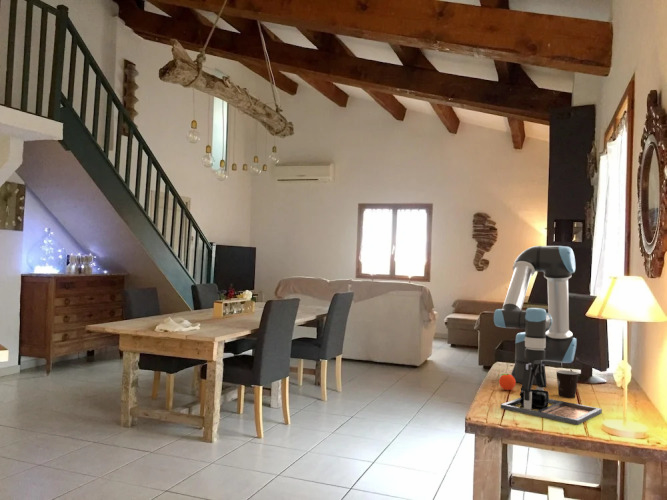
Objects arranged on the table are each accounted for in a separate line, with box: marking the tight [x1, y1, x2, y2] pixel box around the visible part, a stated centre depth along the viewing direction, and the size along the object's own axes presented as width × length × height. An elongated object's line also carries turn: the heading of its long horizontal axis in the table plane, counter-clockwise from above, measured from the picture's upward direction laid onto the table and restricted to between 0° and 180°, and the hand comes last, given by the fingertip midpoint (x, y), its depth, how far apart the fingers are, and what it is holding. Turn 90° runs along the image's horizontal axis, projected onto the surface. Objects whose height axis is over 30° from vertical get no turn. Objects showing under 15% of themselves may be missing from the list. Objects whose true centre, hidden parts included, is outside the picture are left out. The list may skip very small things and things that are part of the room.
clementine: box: [498, 373, 517, 391], centre depth 247 cm, size 8×7×7 cm
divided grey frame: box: [500, 397, 603, 426], centre depth 213 cm, size 24×28×2 cm
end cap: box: [519, 388, 550, 411], centre depth 218 cm, size 10×7×7 cm
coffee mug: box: [556, 369, 579, 399], centre depth 237 cm, size 12×9×10 cm
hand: (533, 406), depth 218 cm, fingers open, 10 cm apart
